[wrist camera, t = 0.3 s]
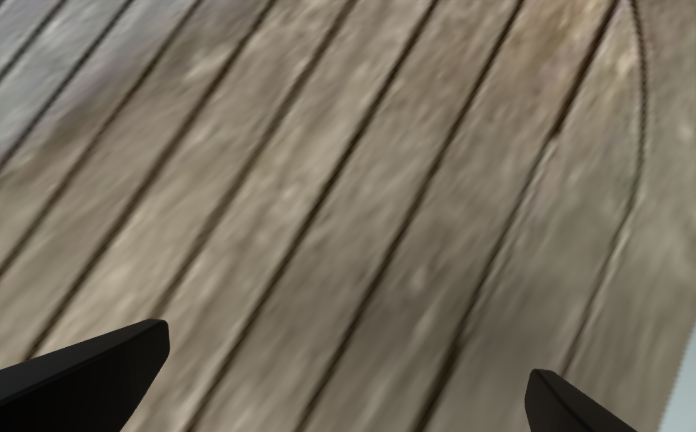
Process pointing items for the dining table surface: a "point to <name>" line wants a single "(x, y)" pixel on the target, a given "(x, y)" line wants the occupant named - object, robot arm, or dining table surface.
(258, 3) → the dining table surface
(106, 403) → the robot arm
